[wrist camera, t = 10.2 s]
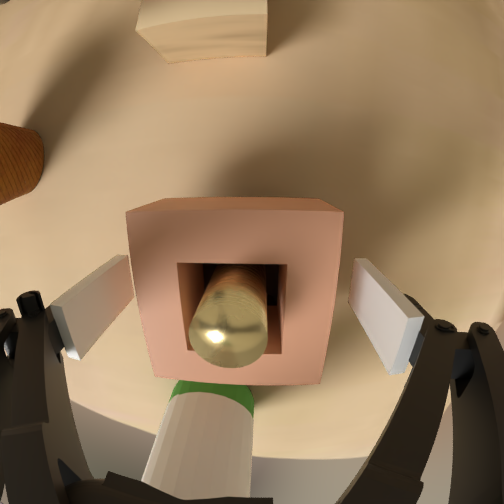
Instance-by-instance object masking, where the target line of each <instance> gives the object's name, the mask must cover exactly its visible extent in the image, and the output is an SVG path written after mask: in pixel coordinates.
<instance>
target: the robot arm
mask: <svg viewBox="0 0 504 504" xmlns="http://www.w3.org/2000/svg"><path fill="white" fill-rule="evenodd" d="M8 1H9V0H0V4H4V3H6V2H8ZM133 298H134V291H133V285H132V280H131V273H130V267H129V260H128V255H116V256H115V257H113V258H112V259H111V260H109V261H108V262H106V263H105V264H103V265H102V266H101V267H99V268H98V269H96V270H95V271H94V272H92V273H91V274H89V275H88V276H87V277H85V278H84V279H82V280H81V281H80V282H78V283H77V284H76V285H74V286H73V287H72V288H70V289H69V290H68V291H66V292H65V293H64V294H63V295H61V296H60V297H59V298H57V299H56V300H55V301H53V302H52V303H51V304H50V306H48V307H47V308H46V309H45V308H44V305H43V302H42V298H41V295H40V292H39V291H29V292H25V293H23V294H21V295H20V296H19V297H18V298H17V299H16V300H17V304H18V307H19V310H20V313H21V315H22V318H15V315H14V313H13V310H12V309H10V308H6V309H1V310H0V501H1V497H2V494H3V489H4V484H5V485H6V492H7V497H8V502H9V504H273V498H249V497H230V496H228V497H219V498H209V499H193V500H183V499H179V498H177V497H174V496H172V495H170V494H167V493H165V492H163V491H161V490H159V489H156V488H154V487H152V486H150V485H148V484H146V483H144V482H142V481H138V480H134V479H131V478H128V477H125V476H121V475H118V474H115V473H113V472H110V471H108V473H107V475H106V478H105V479H94V477H93V476H92V474H91V472H90V470H89V468H88V465H87V462H86V460H85V456H84V453H83V450H82V447H81V443H80V441H79V437H78V433H77V429H76V426H75V422H74V418H73V413H72V409H71V404H70V399H69V394H68V389H67V383H66V377H65V370H64V362H63V357H62V354H61V352H60V351H61V350H62V349H63V348H64V347H65V350H66V352H67V355H68V357H69V358H73V359H77V360H80V361H81V359H82V358H83V357H84V356H85V354H86V353H87V352H88V351H89V349H90V348H91V347H92V346H93V345H94V343H95V342H96V341H97V340H98V339H99V337H100V336H101V335H102V334H103V333H104V331H105V330H106V329H107V328H108V327H109V325H110V324H111V323H112V322H113V321H114V320H115V318H116V317H117V316H118V315H119V314H120V313H121V312H122V310H123V309H124V308H125V307H126V306H127V305H128V304H129V302H130V301H131V300H132V299H133ZM348 303H349V304H350V306H351V308H352V309H353V311H354V313H355V315H356V316H357V318H358V320H359V322H360V323H361V325H362V327H363V329H364V330H365V332H366V334H367V336H368V337H369V339H370V341H371V343H372V345H373V346H374V348H375V350H376V352H377V354H378V356H379V357H380V359H381V361H382V363H383V365H384V367H385V369H386V371H387V372H388V374H389V375H394V374H399V373H404V372H405V370H406V367H407V365H408V362H410V364H411V365H412V367H413V368H412V370H411V373H410V375H409V377H408V380H407V382H406V384H405V386H404V389H403V392H402V394H401V396H400V398H399V401H398V403H397V405H396V407H395V409H394V411H393V413H392V415H391V417H390V419H389V421H388V423H387V425H386V427H385V429H384V430H383V432H382V434H381V436H380V438H379V439H378V441H377V443H376V445H375V446H374V448H373V450H372V451H371V453H370V455H369V456H368V458H367V459H366V461H365V463H364V464H363V466H362V467H361V469H360V470H359V472H358V473H357V475H356V476H355V478H354V479H353V480H352V482H351V483H350V485H349V486H348V487H347V489H346V490H345V492H344V493H343V494H342V496H341V497H340V498H339V499H338V501H337V502H336V503H335V504H416V503H417V501H418V499H419V497H420V495H421V492H422V489H423V482H421V481H420V478H421V476H422V473H423V471H424V468H425V466H426V463H427V461H428V458H429V455H430V453H431V450H432V447H433V444H434V441H435V438H436V435H437V432H438V429H439V425H440V422H441V418H442V415H443V411H444V407H445V403H446V399H447V394H448V389H449V385H450V390H451V401H452V416H453V465H452V478H451V489H450V496H449V503H448V504H504V351H503V349H502V346H501V344H500V342H499V339H498V338H497V335H496V333H495V331H494V330H493V328H492V327H490V326H489V325H488V324H486V323H481V322H474V323H472V324H471V326H470V329H469V331H468V333H467V332H457V329H456V327H455V326H454V325H453V324H452V323H450V322H448V321H445V320H441V319H435V320H434V319H433V318H432V317H431V316H430V315H429V314H428V313H427V311H426V310H425V309H423V307H422V306H421V305H419V303H418V302H417V301H416V300H415V299H414V298H412V297H410V296H408V295H406V294H403V293H402V292H401V291H400V290H399V289H398V288H397V287H396V286H395V285H394V284H393V283H392V282H391V281H390V280H389V279H387V278H386V277H385V276H384V275H383V274H382V273H381V272H380V271H379V270H378V269H377V268H376V267H375V266H374V265H373V264H372V263H371V262H370V261H369V260H368V259H367V258H354V264H353V272H352V279H351V286H350V292H349V298H348ZM4 348H5V350H6V352H7V354H8V356H6V354H5V351H4ZM0 504H3V503H2V502H0Z"/></svg>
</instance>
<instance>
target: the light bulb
mask: <svg viewBox="0 0 504 504" xmlns="http://www.w3.org/2000/svg"><path fill="white" fill-rule="evenodd" d="M278 273H279V264H231V263H203V274H204V289H205V292H204V294H203V297H202V299H201V301H200V303H199V306H198V308H197V310H196V312H195V315H194V317H193V319H192V321H191V324H190V327H189V340H190V343H191V345H192V347H193V349H194V350H195V352H196V353H197V354H198V355H199V356H200V357H201V358H202V359H204V360H205V361H207V362H209V363H210V364H213V365H215V366H219V367H223V368H240V367H244V366H247V365H250V364H252V363H253V362H255V361H256V360H258V359H259V358H260V357H261V356H262V354H263V353H264V351H265V349H266V346H267V341H268V335H267V306H277V297H278Z"/></svg>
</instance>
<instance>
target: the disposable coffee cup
mask: <svg viewBox="0 0 504 504" xmlns="http://www.w3.org/2000/svg"><path fill="white" fill-rule="evenodd" d="M43 163H44V149H43V143H42V140H41V138H40V136H39V134H38V133H37V132H35V131H34V130H30V129H26V128H22V127H17V126H13V125H8V124H5V123H0V205H2V204H3V203H6V202H8V201H10V200H12V199H15V198H17V197H20V196H22V195H24V194H27V193H29V192H31V191H32V190H33V189H34V188H35V186H36V185H37V183H38V181H39V179H40V176H41V173H42V169H43Z"/></svg>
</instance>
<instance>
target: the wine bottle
mask: <svg viewBox="0 0 504 504" xmlns="http://www.w3.org/2000/svg"><path fill="white" fill-rule="evenodd" d="M253 414H254V399H253V396H252V394H251V391H250V389H249V388H248V387H247V386H246V385H235V384H218V383H205V382H195V381H185V380H179V381H178V383H177V384H176V386H175V387H174V390H173V392H172V395H171V398H170V401H169V403H168V405H167V408H166V411H165V413H164V416H163V419H162V422H161V425H160V427H159V430H158V433H157V436H156V439H155V442H154V445H153V447H152V450H151V453H150V456H149V459H148V462H147V465H146V468H145V471H144V474H143V477H142V480H141V481H142V482H144V483H146V484H148V485H150V486H152V487H154V488H156V489H159V490H161V491H163V492H165V493H167V494H170V495H172V496H174V497H177V498H179V499H183V500H193V499H209V498H219V497H228V496H230V497H249V498H250V481H251V462H252V443H253V421H254V420H253Z"/></svg>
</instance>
